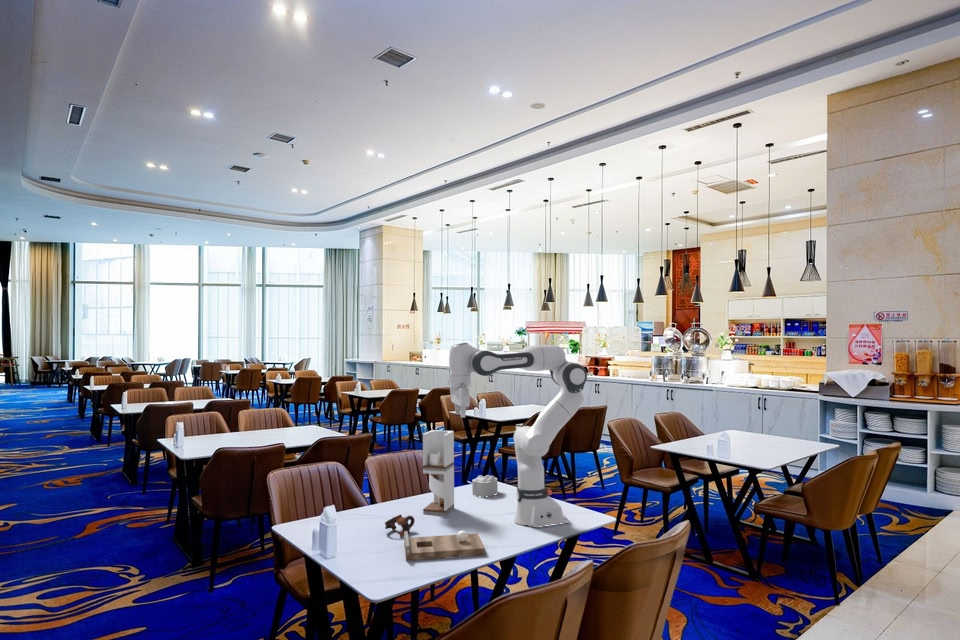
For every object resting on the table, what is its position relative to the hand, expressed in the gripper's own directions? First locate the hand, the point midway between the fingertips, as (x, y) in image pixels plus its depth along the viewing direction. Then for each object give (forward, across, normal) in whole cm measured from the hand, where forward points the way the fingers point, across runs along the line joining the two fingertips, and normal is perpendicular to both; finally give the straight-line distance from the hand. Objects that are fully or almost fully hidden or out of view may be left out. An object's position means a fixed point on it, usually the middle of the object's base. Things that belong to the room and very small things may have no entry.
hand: (460, 415), depth 238 cm
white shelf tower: (+46, +24, +5) cm, 52 cm away
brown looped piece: (+46, 0, +25) cm, 52 cm away
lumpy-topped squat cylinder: (+46, +46, -23) cm, 69 cm away
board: (+45, -23, +12) cm, 52 cm away
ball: (+41, -24, +5) cm, 48 cm away
